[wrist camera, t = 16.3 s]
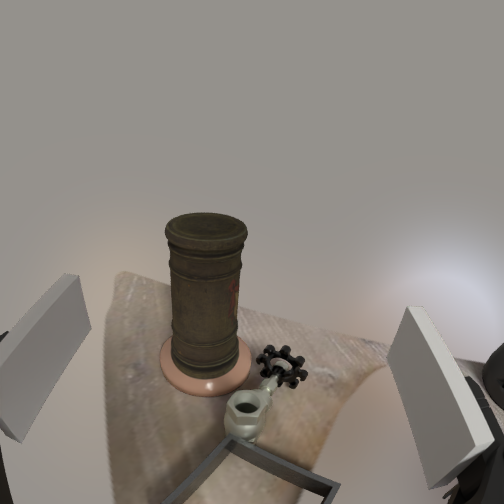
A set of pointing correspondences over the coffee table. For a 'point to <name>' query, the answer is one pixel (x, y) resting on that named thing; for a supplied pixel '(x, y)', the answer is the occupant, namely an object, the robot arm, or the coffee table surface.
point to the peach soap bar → (208, 386)
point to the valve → (261, 394)
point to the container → (205, 292)
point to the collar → (258, 459)
